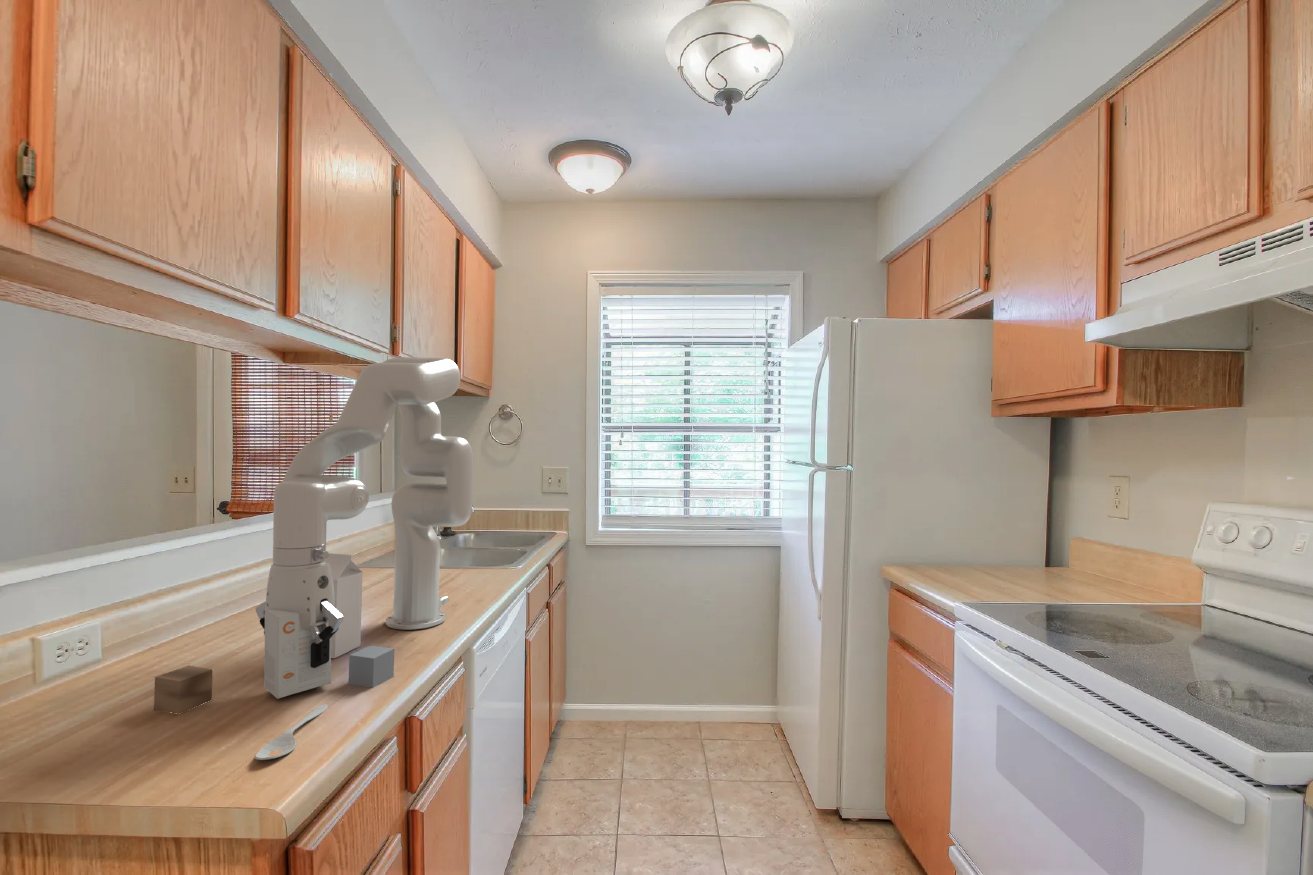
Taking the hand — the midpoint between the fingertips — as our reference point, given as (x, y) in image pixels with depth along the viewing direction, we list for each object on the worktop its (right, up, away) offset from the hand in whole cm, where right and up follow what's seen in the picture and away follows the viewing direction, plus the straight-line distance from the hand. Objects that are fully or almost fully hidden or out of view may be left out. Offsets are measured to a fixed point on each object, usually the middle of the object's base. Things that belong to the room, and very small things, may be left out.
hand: (297, 661), depth 98 cm
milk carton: (-4, -5, +18) cm, 20 cm away
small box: (0, -4, 0) cm, 4 cm away
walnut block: (-14, -5, -6) cm, 16 cm away
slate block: (+10, -5, +5) cm, 12 cm away
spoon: (+8, -6, -12) cm, 16 cm away
